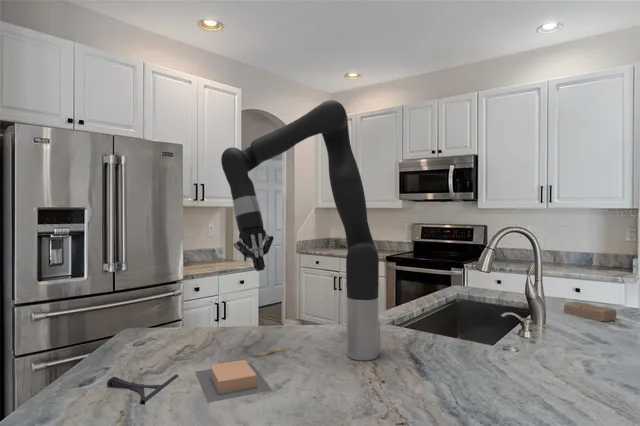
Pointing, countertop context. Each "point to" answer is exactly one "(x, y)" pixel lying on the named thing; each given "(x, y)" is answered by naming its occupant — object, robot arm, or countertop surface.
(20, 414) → the countertop surface
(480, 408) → the countertop surface
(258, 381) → the mat
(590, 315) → the brick
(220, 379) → the tile
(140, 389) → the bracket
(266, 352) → the turner
